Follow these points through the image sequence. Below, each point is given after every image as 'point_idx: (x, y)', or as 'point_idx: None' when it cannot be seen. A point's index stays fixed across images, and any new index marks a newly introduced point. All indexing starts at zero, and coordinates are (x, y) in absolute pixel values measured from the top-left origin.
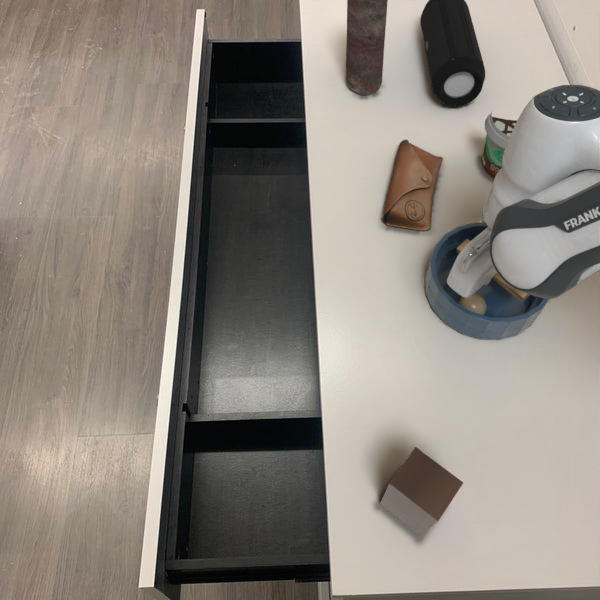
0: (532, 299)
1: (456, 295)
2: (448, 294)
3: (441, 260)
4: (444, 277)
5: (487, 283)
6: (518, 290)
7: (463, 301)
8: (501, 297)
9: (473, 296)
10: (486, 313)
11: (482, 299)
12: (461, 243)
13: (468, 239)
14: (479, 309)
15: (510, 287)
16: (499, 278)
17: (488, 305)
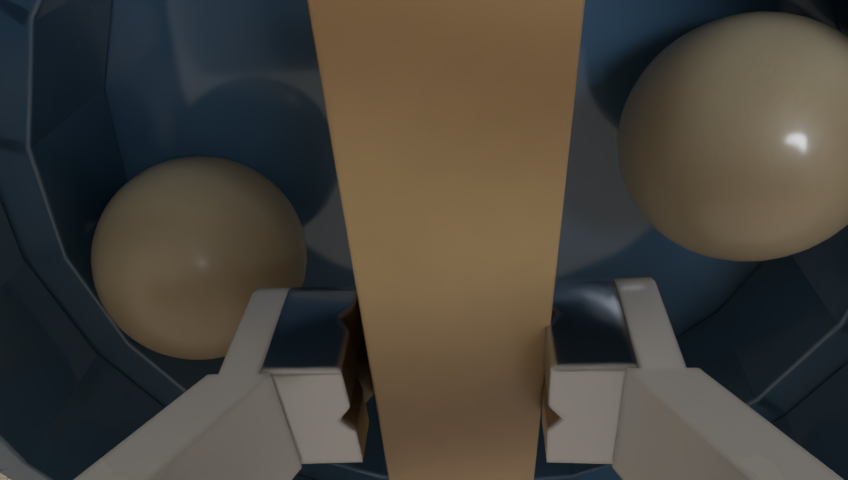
0: None
1: (634, 233)
2: (666, 265)
3: (564, 467)
4: None
5: (659, 299)
6: (536, 17)
7: (832, 235)
8: None
9: (770, 233)
10: (613, 1)
11: (726, 158)
12: (374, 476)
13: (317, 471)
14: (841, 94)
15: (565, 128)
16: (539, 286)
17: None
